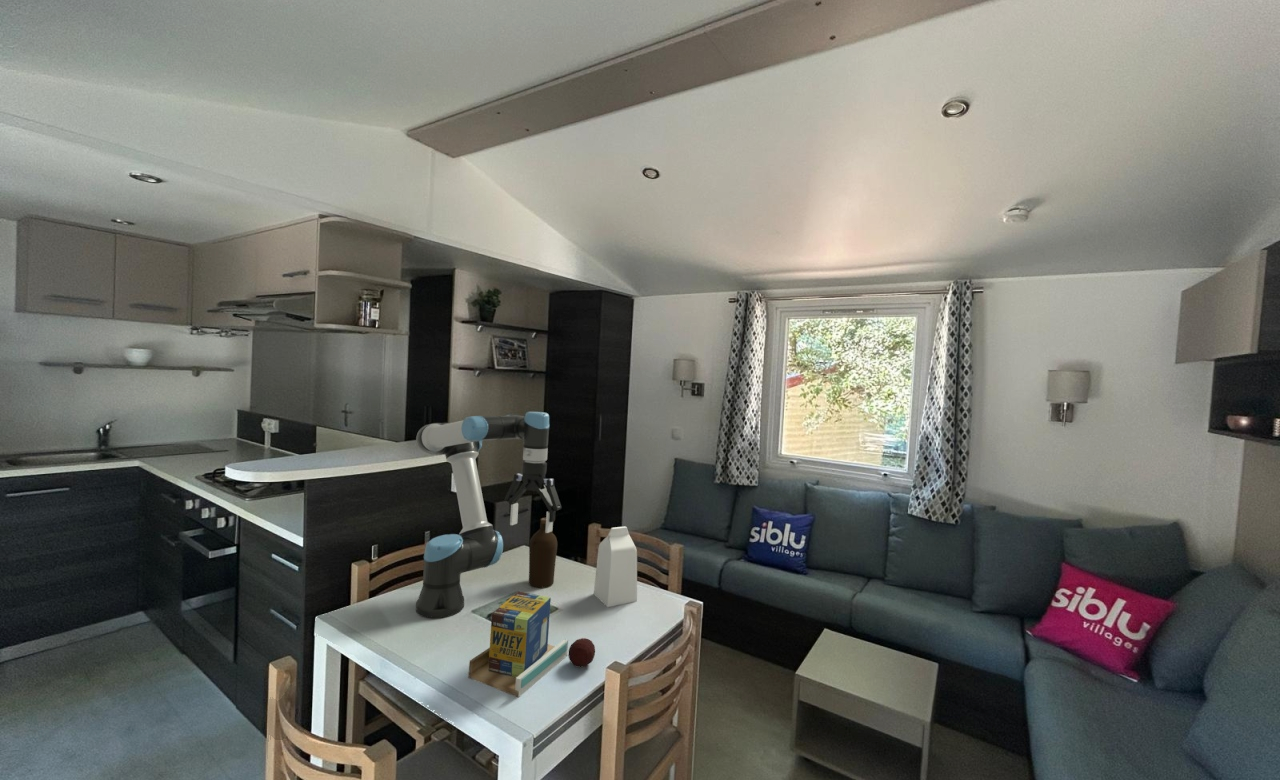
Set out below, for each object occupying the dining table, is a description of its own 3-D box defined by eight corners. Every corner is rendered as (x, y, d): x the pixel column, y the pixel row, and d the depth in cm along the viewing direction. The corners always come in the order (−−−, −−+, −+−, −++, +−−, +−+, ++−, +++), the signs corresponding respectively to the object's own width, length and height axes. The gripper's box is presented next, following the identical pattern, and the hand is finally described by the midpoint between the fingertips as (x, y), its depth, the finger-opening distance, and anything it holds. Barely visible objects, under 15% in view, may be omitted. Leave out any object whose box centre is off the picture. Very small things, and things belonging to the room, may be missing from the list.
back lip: (468, 677, 132) (469, 660, 132) (521, 640, 152) (522, 625, 152) (471, 678, 131) (472, 661, 131) (524, 641, 151) (525, 626, 151)
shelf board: (468, 677, 132) (468, 671, 132) (521, 640, 152) (521, 635, 152) (518, 697, 125) (518, 691, 125) (566, 655, 145) (567, 650, 145)
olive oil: (551, 590, 189) (555, 523, 189) (523, 587, 189) (527, 521, 189) (557, 579, 200) (561, 516, 199) (531, 576, 200) (534, 514, 200)
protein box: (487, 671, 132) (490, 613, 132) (515, 643, 147) (518, 590, 147) (523, 679, 130) (527, 620, 130) (548, 649, 145) (551, 596, 145)
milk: (607, 606, 178) (612, 533, 177) (593, 594, 188) (597, 524, 187) (636, 601, 184) (641, 530, 183) (621, 589, 194) (626, 521, 193)
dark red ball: (597, 660, 144) (598, 635, 144) (589, 675, 136) (590, 649, 136) (572, 655, 145) (574, 631, 145) (563, 670, 138) (565, 644, 138)
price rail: (514, 695, 125) (515, 677, 125) (563, 654, 145) (564, 639, 145) (519, 697, 125) (520, 679, 125) (567, 655, 145) (568, 640, 145)
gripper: (495, 457, 161) (491, 523, 161) (561, 467, 150) (557, 538, 151) (510, 455, 167) (507, 518, 168) (574, 464, 157) (570, 532, 157)
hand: (530, 528), depth 159 cm, fingers open, 13 cm apart
